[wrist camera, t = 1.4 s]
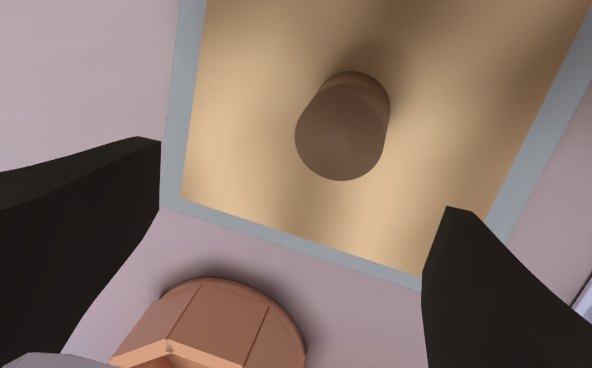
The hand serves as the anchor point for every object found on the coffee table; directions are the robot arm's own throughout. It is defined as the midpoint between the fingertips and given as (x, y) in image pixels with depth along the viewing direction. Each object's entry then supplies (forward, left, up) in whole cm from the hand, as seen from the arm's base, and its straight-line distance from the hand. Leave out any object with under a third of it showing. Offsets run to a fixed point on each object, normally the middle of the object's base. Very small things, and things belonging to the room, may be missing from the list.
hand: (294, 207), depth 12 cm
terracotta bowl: (+3, +16, -10) cm, 19 cm away
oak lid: (0, 0, -9) cm, 9 cm away
